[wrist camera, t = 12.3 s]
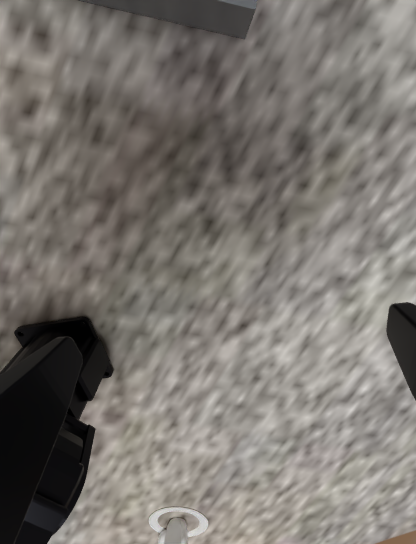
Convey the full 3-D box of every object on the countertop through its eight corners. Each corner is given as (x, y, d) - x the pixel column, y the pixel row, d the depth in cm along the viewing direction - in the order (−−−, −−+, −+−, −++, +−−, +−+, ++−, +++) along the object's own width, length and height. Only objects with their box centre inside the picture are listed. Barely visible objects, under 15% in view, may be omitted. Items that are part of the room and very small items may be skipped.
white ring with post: (176, 539, 42) (172, 579, 39) (133, 518, 40) (125, 558, 36) (220, 520, 39) (220, 560, 36) (177, 496, 37) (173, 536, 33)
